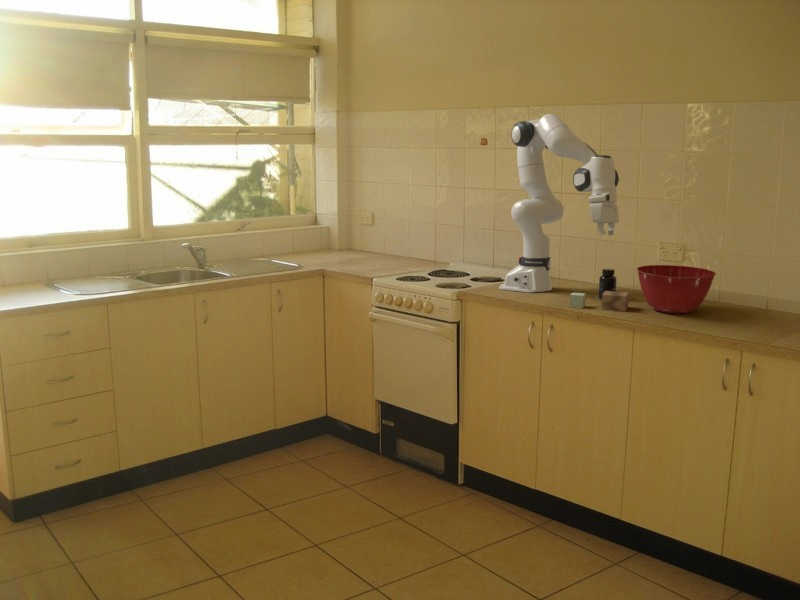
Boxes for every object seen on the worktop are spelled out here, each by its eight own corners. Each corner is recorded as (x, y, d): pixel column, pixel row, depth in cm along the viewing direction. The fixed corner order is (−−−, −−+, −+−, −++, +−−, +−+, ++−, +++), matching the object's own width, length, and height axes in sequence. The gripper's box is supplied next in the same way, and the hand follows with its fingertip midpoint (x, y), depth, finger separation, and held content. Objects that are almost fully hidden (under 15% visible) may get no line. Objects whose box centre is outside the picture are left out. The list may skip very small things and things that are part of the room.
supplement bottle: (616, 300, 331) (617, 271, 329) (598, 299, 333) (599, 270, 330) (615, 297, 338) (616, 268, 336) (598, 296, 339) (599, 267, 337)
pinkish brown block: (601, 310, 313) (601, 294, 312) (604, 305, 322) (605, 290, 320) (625, 312, 310) (626, 296, 309) (628, 307, 318) (628, 292, 317)
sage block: (569, 307, 318) (569, 294, 317) (572, 305, 323) (572, 292, 322) (582, 308, 316) (582, 295, 315) (584, 306, 321) (585, 293, 320)
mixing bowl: (712, 305, 321) (715, 266, 318) (713, 320, 294) (716, 278, 291) (637, 301, 330) (639, 262, 327) (631, 315, 304) (634, 273, 301)
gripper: (605, 200, 317) (607, 235, 317) (586, 198, 300) (588, 235, 300) (621, 198, 313) (624, 234, 314) (603, 196, 296) (605, 234, 297)
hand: (606, 235), depth 307 cm, fingers open, 8 cm apart
